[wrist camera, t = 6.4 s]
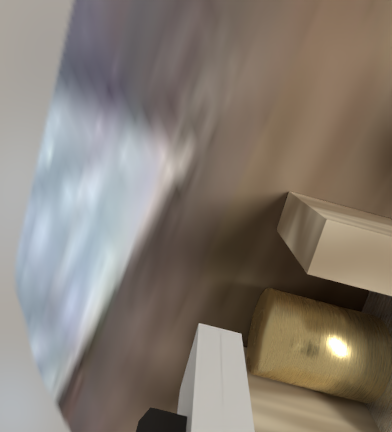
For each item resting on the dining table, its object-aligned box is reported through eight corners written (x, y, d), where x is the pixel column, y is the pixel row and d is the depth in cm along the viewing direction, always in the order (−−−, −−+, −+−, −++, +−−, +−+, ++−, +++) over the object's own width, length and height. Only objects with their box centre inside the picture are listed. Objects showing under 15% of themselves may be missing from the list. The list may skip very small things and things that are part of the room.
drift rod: (276, 272, 19) (272, 356, 16) (384, 301, 20) (400, 389, 17) (250, 309, 23) (243, 385, 20) (343, 333, 23) (350, 412, 20)
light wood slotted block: (289, 191, 20) (326, 219, 14) (428, 228, 20) (528, 273, 14) (228, 376, 23) (236, 472, 16) (351, 407, 23) (406, 513, 17)
